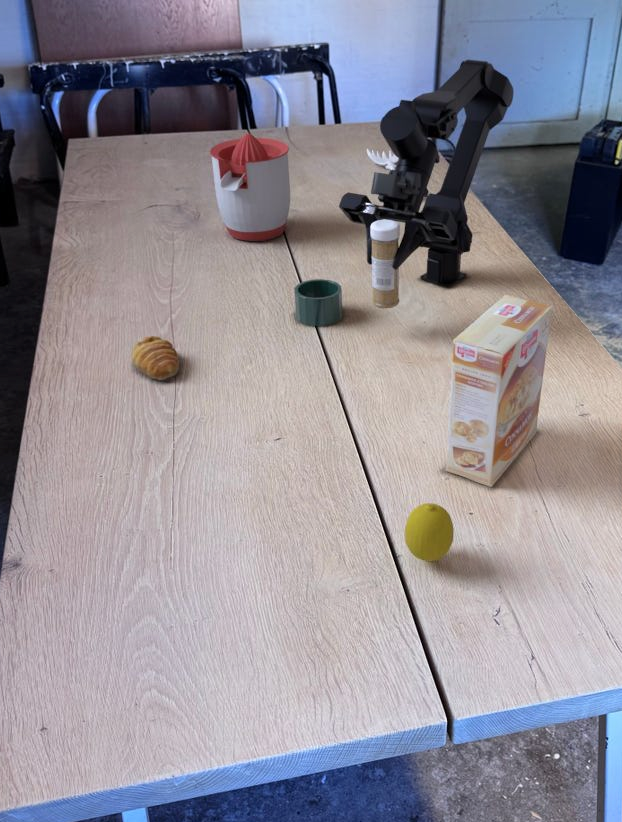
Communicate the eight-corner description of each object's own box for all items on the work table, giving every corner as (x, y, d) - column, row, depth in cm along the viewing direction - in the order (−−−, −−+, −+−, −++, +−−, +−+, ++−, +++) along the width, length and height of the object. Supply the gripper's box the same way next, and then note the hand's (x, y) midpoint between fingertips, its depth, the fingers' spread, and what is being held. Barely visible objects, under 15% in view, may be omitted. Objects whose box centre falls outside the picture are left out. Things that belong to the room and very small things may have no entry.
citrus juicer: (200, 243, 179) (187, 142, 166) (241, 214, 191) (232, 119, 179) (269, 254, 174) (260, 151, 162) (306, 224, 187) (301, 126, 174)
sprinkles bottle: (403, 300, 144) (404, 221, 136) (391, 311, 141) (391, 231, 133) (379, 295, 146) (378, 216, 138) (366, 306, 143) (365, 226, 135)
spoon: (400, 159, 222) (400, 145, 220) (422, 202, 197) (422, 187, 194) (365, 160, 221) (365, 146, 219) (382, 204, 196) (382, 189, 194)
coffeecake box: (492, 488, 112) (505, 354, 100) (443, 471, 115) (450, 339, 104) (538, 433, 122) (555, 304, 111) (492, 418, 125) (503, 292, 114)
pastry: (190, 375, 136) (187, 353, 134) (149, 387, 133) (145, 365, 131) (168, 350, 142) (165, 329, 140) (129, 362, 140) (124, 340, 137)
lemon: (401, 545, 104) (402, 491, 99) (447, 542, 104) (451, 489, 99) (407, 577, 99) (408, 523, 95) (455, 573, 100) (459, 519, 95)
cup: (317, 301, 157) (316, 275, 154) (351, 313, 152) (350, 287, 149) (286, 317, 152) (284, 290, 149) (321, 330, 148) (319, 303, 145)
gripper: (342, 140, 135) (310, 234, 134) (453, 156, 128) (420, 255, 127) (366, 176, 146) (337, 263, 145) (471, 192, 139) (440, 284, 138)
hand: (381, 266), depth 138 cm, fingers closed on sprinkles bottle, 4 cm apart
